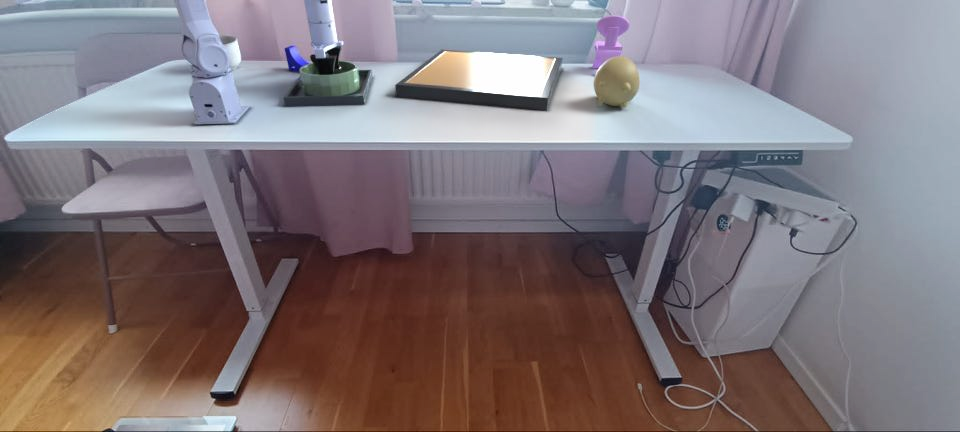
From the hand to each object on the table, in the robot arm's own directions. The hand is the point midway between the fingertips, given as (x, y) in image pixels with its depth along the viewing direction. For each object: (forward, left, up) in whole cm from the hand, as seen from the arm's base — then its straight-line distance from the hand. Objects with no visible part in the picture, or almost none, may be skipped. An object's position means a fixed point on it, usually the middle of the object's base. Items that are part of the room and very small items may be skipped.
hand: (331, 81), depth 110 cm
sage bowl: (0, 0, -2) cm, 2 cm away
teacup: (+21, +34, -2) cm, 40 cm away
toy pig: (-15, -65, -2) cm, 67 cm away
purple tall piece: (+11, -72, -2) cm, 73 cm away
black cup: (0, 0, -2) cm, 2 cm away
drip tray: (0, 0, -2) cm, 2 cm away
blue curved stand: (+18, +8, -2) cm, 20 cm away
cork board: (+5, -38, -2) cm, 39 cm away
